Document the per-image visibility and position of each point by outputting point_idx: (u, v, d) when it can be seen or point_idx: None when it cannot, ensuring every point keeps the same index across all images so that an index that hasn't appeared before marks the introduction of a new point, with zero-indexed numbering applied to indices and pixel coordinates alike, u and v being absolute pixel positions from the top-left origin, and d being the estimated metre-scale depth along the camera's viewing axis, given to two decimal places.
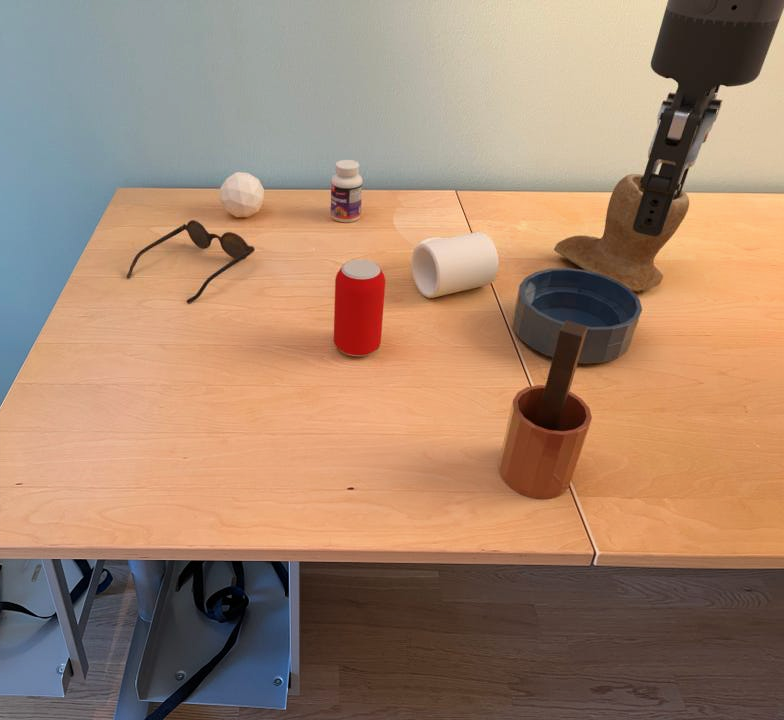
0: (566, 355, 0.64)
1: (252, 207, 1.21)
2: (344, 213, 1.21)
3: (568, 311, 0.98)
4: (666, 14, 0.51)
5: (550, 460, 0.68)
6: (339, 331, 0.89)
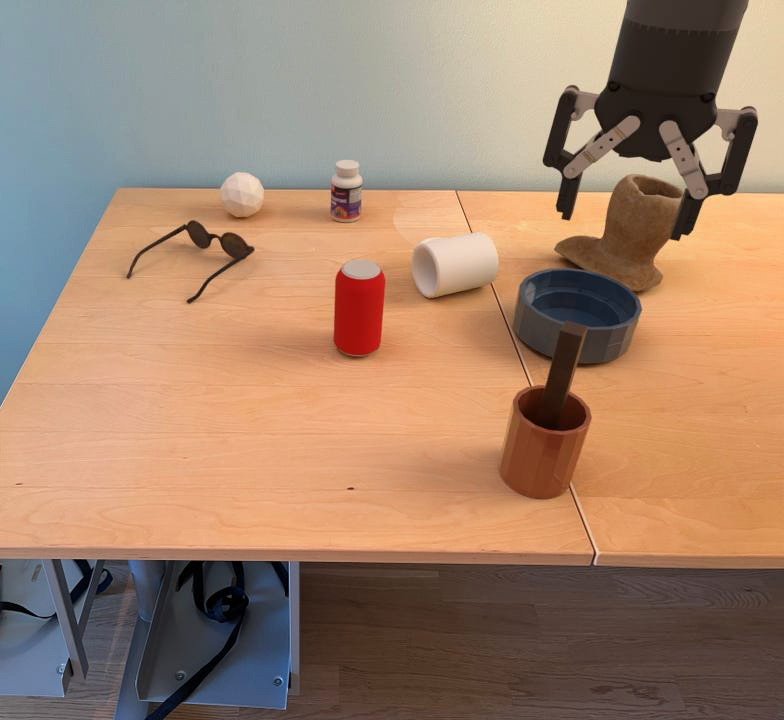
0: (567, 355, 0.64)
1: (252, 207, 1.21)
2: (344, 213, 1.21)
3: (568, 311, 0.98)
4: None
5: (550, 460, 0.68)
6: (339, 331, 0.89)
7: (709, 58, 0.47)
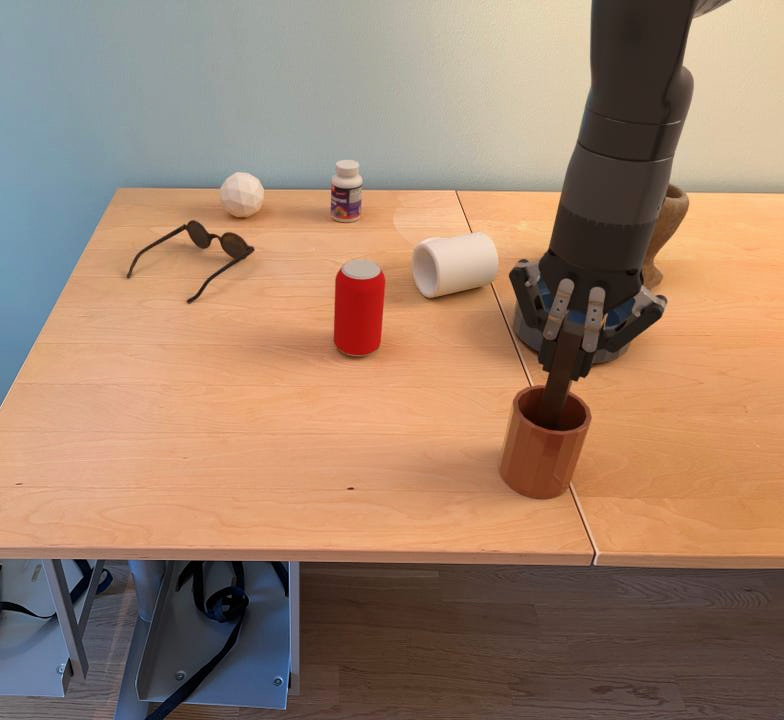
0: (566, 355, 0.64)
1: (252, 207, 1.21)
2: (344, 213, 1.21)
3: None
4: None
5: (550, 460, 0.68)
6: (339, 331, 0.89)
7: (626, 245, 0.54)
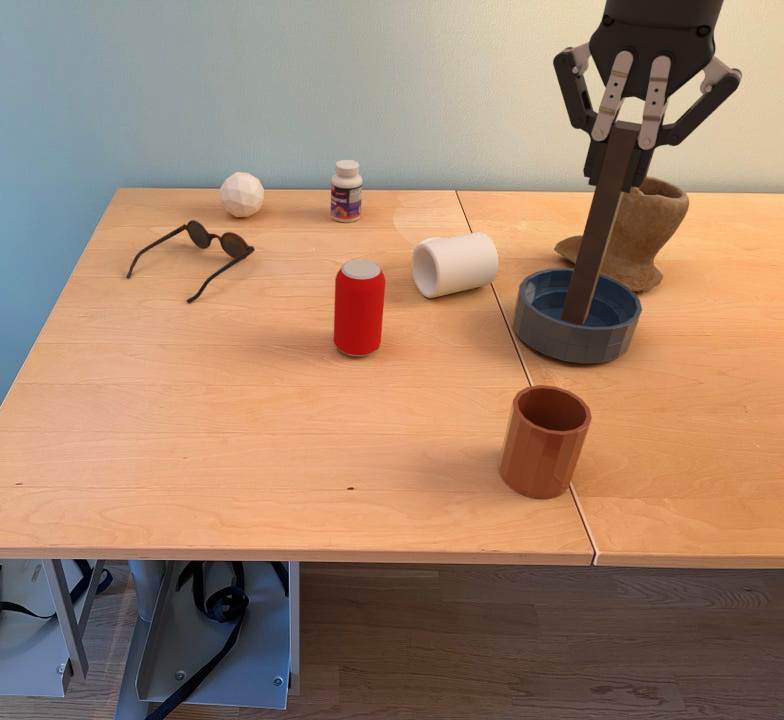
0: (618, 159, 0.55)
1: (252, 207, 1.21)
2: (344, 213, 1.21)
3: None
4: None
5: (550, 460, 0.68)
6: (339, 331, 0.89)
7: None
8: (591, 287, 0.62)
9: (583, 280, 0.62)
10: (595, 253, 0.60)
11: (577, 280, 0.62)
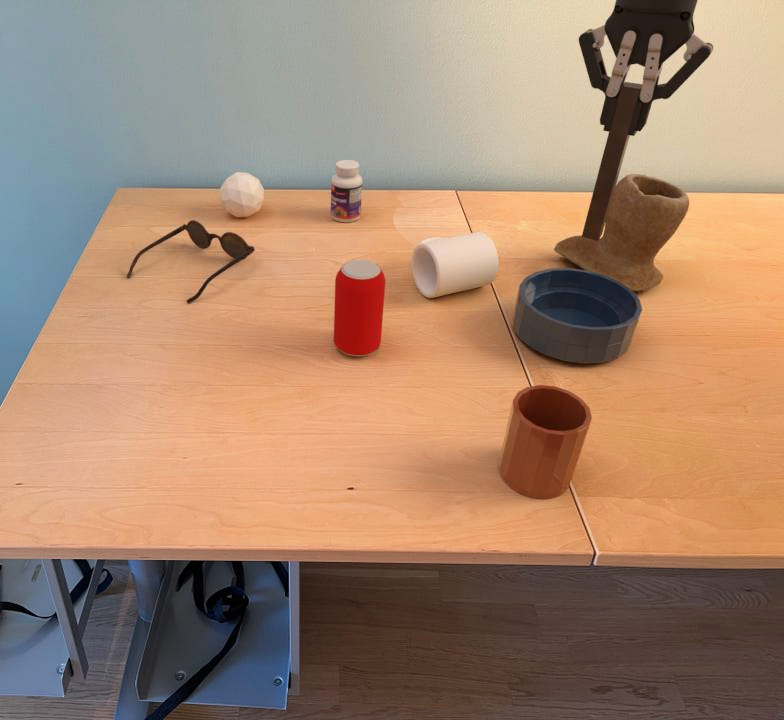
0: (626, 110, 0.76)
1: (252, 207, 1.21)
2: (344, 213, 1.21)
3: (568, 311, 0.98)
4: None
5: (550, 460, 0.68)
6: (339, 331, 0.89)
7: None
8: (605, 209, 0.83)
9: (599, 204, 0.83)
10: (608, 182, 0.81)
11: (594, 204, 0.83)
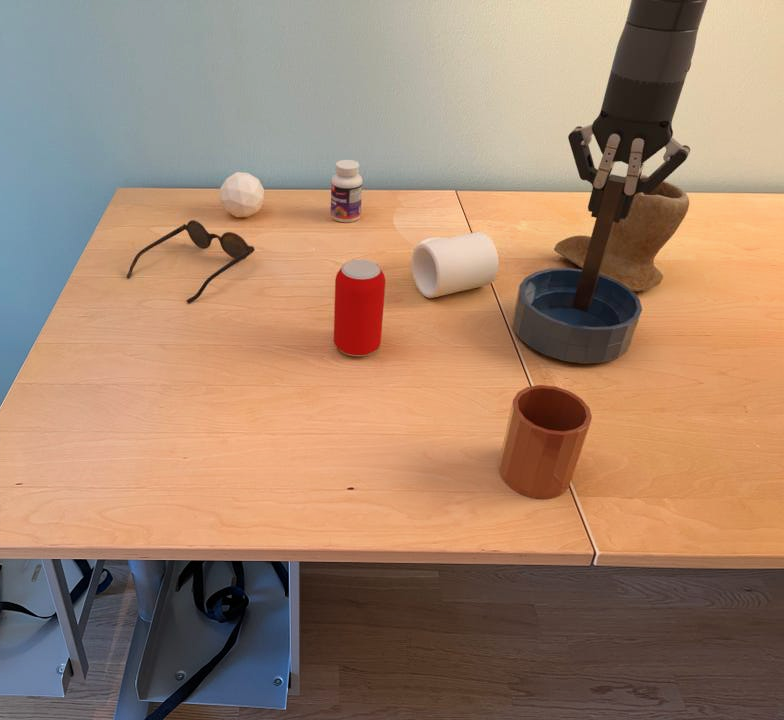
0: (611, 200, 0.83)
1: (252, 207, 1.21)
2: (344, 213, 1.21)
3: (568, 311, 0.98)
4: None
5: (550, 460, 0.68)
6: (339, 331, 0.89)
7: (661, 99, 0.73)
8: (593, 285, 0.90)
9: (587, 280, 0.90)
10: (596, 262, 0.88)
11: (583, 280, 0.90)
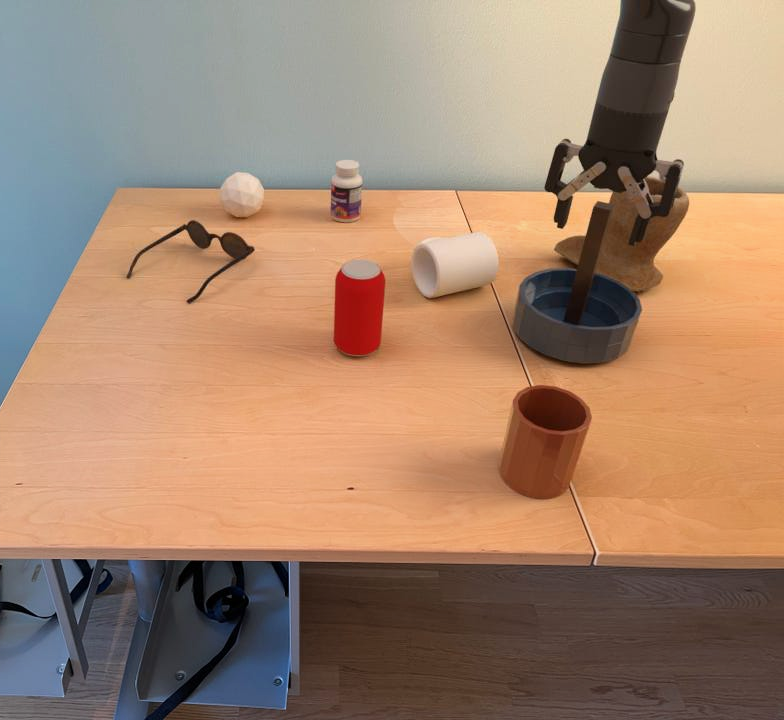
0: (598, 227, 0.84)
1: (252, 207, 1.21)
2: (344, 213, 1.21)
3: None
4: None
5: (550, 460, 0.68)
6: (339, 331, 0.89)
7: (645, 129, 0.74)
8: (581, 309, 0.91)
9: (576, 304, 0.91)
10: (583, 286, 0.89)
11: (572, 304, 0.91)
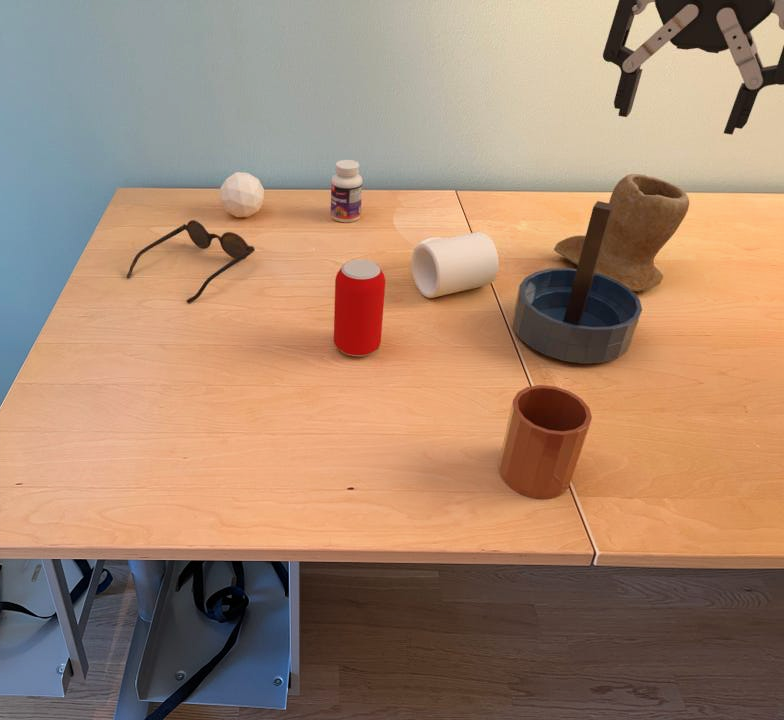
0: (598, 227, 0.84)
1: (252, 207, 1.21)
2: (344, 213, 1.21)
3: None
4: None
5: (550, 460, 0.68)
6: (339, 331, 0.89)
7: None
8: (581, 309, 0.91)
9: (576, 304, 0.91)
10: (583, 286, 0.89)
11: (572, 304, 0.91)
